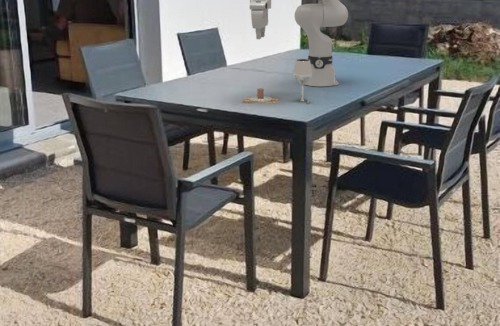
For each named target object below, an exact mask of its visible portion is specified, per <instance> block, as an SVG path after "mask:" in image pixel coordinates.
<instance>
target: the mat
mask: <svg viewBox="0 0 500 326" xmlns="http://www.w3.org/2000/svg"><path fill="white" fill-rule="evenodd" d="M250 97H251V96H247V97H246V98H244V100H243V101H241V104H268V105H271V104H272V105H273V104H276V102H277V101H278V99H280V98H279V97H277V96H275V97H271V96H270V97H271V98H272V101H269V102H252V101H249V98H250Z"/></svg>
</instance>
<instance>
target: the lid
mask: <svg viewBox="0 0 500 326" xmlns="http://www.w3.org/2000/svg"><path fill="white" fill-rule="evenodd" d="M264 90H265V88H263V87H262V88H257V90H256V91H257V93H256V95H255V96H249V97H250V98H249V101H252V102H269V101H272V98H271V96H266V95H264V94H265V93H264Z"/></svg>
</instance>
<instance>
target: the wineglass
mask: <svg viewBox="0 0 500 326" xmlns="http://www.w3.org/2000/svg"><path fill="white" fill-rule="evenodd" d="M292 73H293V77H294V79H295V80H296V81H297V82H298V83H299V84H300V85H301V98H300V102H305V100H304V88H305V87H304V86H305V85H304V84H305V83H306V82H307V81H308V80H310V78H311V77H312V74H313V72H312V67H311V63H310V60H308V58H303V59H302V58H299V59H296V60H295V64H294V67H293V71H292ZM305 104H310V101H309V100H307V101H306V102H305Z"/></svg>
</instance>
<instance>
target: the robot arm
mask: <svg viewBox="0 0 500 326" xmlns="http://www.w3.org/2000/svg"><path fill="white" fill-rule="evenodd" d="M321 1H322V3H305V4H300V5H298V6H297V7H296V9H295V12H294V21H295V22H296V24H297V25H298V26H299V27H300V28H301V29H303V31H304V32H305V34H306V36H307V39H308V56H307V59H308V60H310V63H311V67H312V72H313V74H312V77H311V78H310V80H308V81H307V82H306V83H305V84H304V86H305V85H306V86H309V87H331V86H339V85H340V83H339V81H337V79H336V77H337V76H336V69H335V66H334V65H333V60H334V59H333V55H332V54H333V53H332V51H333V41H332V39H331V37H330V36H329V35H327V34H326V33H323V32H322V31H321V28H324V27H325V28H327V27H328V28H329V27H330V28H333V27H340V26H343V25H345V24H346V22H347V21H348V19H349V11H348V8H347V7H346V6H345V5H344V4H343V3H342V2H341V1H340V0H321ZM269 9H272V0H249V10H251V11H250V15H251V16H250V17H251V27H252V29H255V39H256V40H261V39H262V38H265V37H266V36H265V35H266V33H265V31H266V27H267V26H268V25H269Z"/></svg>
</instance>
